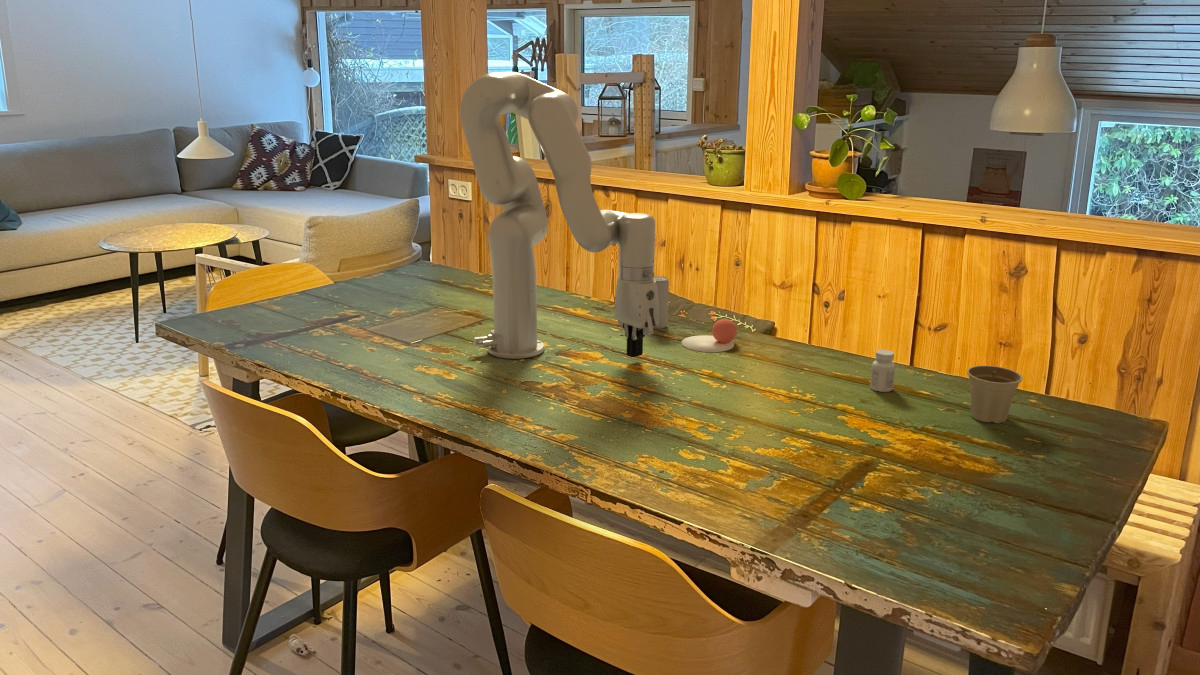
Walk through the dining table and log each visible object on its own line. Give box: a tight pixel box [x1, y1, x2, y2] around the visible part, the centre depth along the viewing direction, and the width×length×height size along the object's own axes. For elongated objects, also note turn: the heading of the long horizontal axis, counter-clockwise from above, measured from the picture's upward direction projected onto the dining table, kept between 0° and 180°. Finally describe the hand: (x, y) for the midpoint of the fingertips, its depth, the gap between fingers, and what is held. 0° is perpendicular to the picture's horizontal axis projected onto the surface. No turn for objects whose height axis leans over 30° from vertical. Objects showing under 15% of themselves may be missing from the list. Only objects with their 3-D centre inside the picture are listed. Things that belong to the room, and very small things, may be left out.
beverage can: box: [652, 275, 670, 330], centre depth 224 cm, size 5×5×12 cm
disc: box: [681, 335, 735, 353], centre depth 213 cm, size 12×12×1 cm
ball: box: [711, 318, 738, 343], centre depth 213 cm, size 6×6×6 cm
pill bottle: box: [869, 349, 896, 393], centre depth 185 cm, size 4×4×8 cm
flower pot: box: [966, 365, 1024, 424], centre depth 171 cm, size 9×9×9 cm
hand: (634, 355), depth 200 cm, fingers closed
